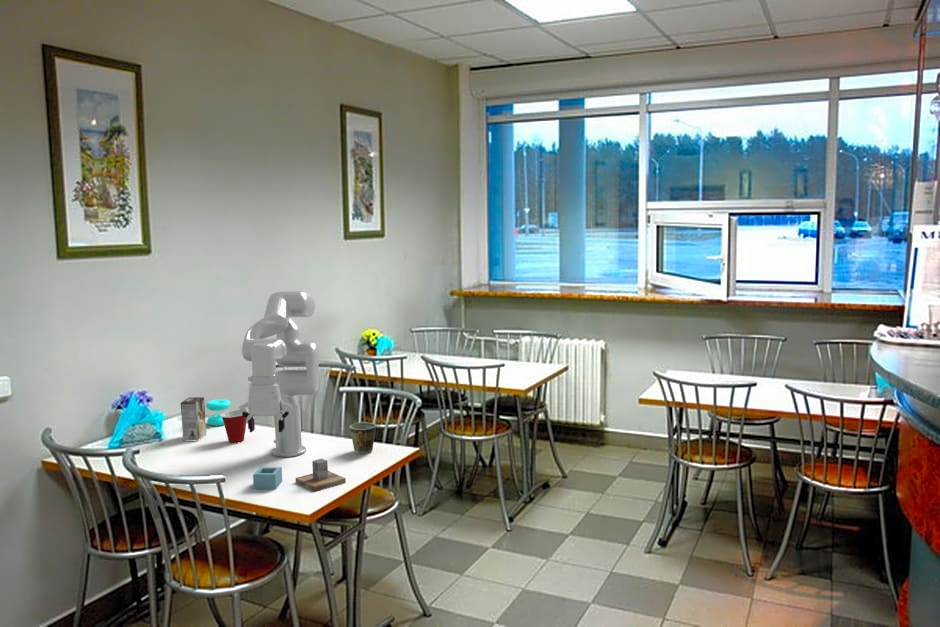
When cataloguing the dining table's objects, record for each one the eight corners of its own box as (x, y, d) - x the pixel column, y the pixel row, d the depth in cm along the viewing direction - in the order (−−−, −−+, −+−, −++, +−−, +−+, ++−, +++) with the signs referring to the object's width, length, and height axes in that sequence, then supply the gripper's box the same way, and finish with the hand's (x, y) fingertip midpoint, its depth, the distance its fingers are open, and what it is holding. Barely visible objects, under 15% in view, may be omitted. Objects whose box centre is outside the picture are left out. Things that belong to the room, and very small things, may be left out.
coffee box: (191, 435, 309) (189, 396, 307) (206, 434, 309) (204, 396, 307) (182, 441, 300) (180, 402, 298) (198, 441, 300) (196, 402, 298)
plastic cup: (227, 437, 306) (225, 408, 304) (253, 437, 305) (252, 408, 304) (217, 445, 295) (215, 415, 293) (244, 445, 294) (243, 415, 293)
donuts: (201, 403, 321) (212, 398, 331) (203, 426, 322) (213, 420, 332) (223, 404, 320) (234, 398, 329) (225, 427, 321) (235, 420, 331)
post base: (295, 482, 252) (294, 460, 251) (326, 473, 260) (325, 453, 259) (314, 491, 244) (313, 469, 243) (345, 482, 252) (345, 460, 251)
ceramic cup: (353, 447, 291) (352, 422, 289) (378, 447, 290) (378, 422, 289) (346, 458, 278) (345, 431, 276) (373, 458, 277) (372, 431, 276)
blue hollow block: (253, 489, 246) (252, 474, 246) (260, 481, 254) (260, 467, 253) (275, 489, 246) (275, 474, 245) (282, 481, 253) (281, 467, 253)
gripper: (234, 382, 242) (236, 434, 244) (287, 382, 242) (289, 434, 244) (242, 378, 250) (244, 428, 252) (293, 377, 249) (295, 428, 251)
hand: (266, 431), depth 248 cm, fingers open, 9 cm apart
